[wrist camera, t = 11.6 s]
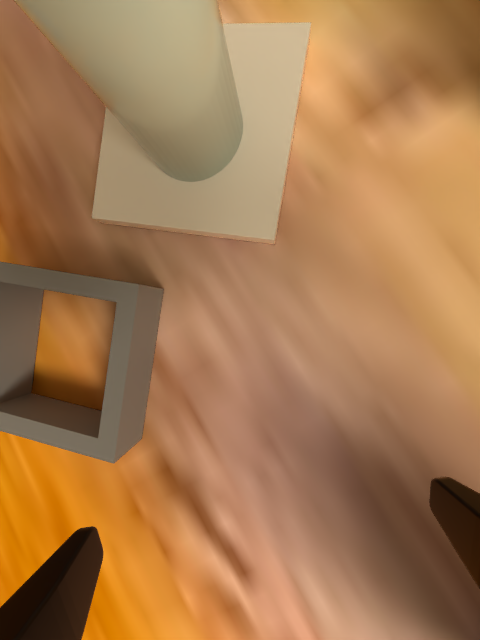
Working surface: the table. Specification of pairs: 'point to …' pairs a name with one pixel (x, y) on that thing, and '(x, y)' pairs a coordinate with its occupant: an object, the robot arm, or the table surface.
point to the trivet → (245, 167)
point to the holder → (122, 375)
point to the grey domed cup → (154, 74)
